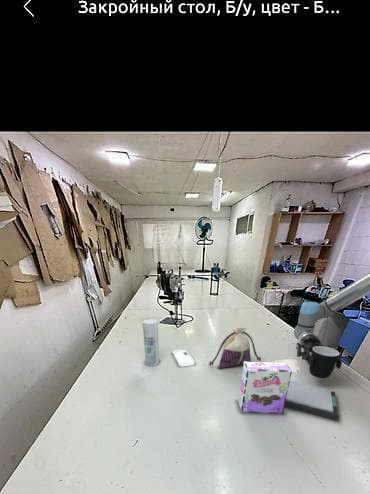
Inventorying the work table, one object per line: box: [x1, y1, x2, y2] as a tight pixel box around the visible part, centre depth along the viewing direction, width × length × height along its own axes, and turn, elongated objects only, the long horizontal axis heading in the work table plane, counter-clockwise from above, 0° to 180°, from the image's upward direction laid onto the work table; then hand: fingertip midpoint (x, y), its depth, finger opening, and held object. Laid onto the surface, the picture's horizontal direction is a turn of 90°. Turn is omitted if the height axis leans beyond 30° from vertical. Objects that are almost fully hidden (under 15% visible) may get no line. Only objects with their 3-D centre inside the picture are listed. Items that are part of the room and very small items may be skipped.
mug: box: [309, 345, 341, 379], centre depth 91 cm, size 12×9×10 cm
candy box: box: [237, 361, 293, 414], centre depth 77 cm, size 14×6×16 cm, turn 88°
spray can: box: [142, 318, 160, 366], centre depth 106 cm, size 6×6×20 cm
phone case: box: [172, 349, 196, 368], centre depth 113 cm, size 7×1×15 cm
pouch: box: [208, 327, 262, 369], centre depth 104 cm, size 25×8×19 cm, turn 110°
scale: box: [284, 380, 339, 422], centre depth 83 cm, size 16×15×3 cm
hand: (325, 364), depth 87 cm, fingers closed on mug, 9 cm apart
